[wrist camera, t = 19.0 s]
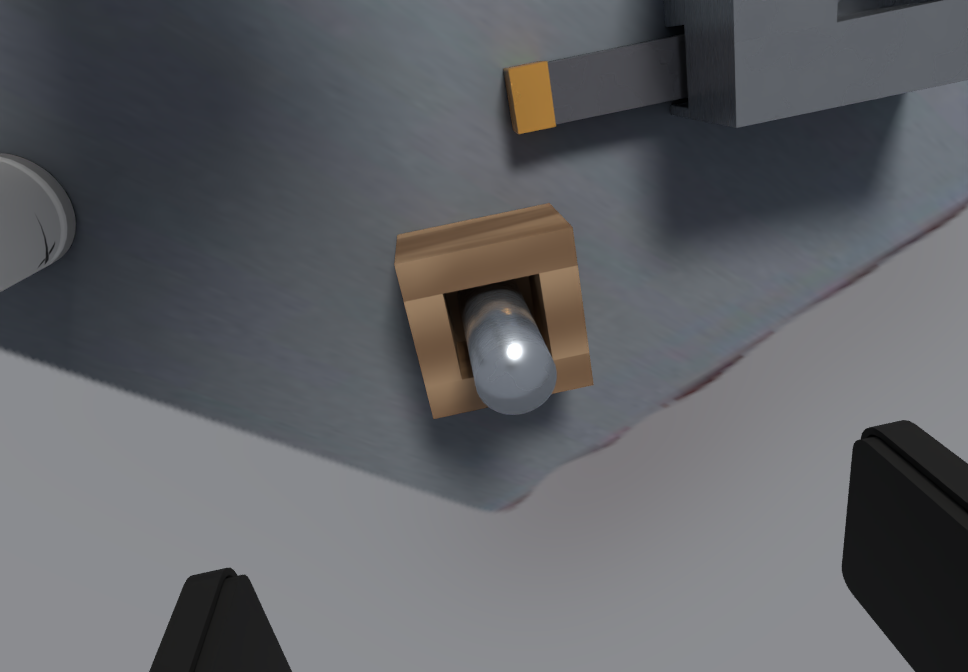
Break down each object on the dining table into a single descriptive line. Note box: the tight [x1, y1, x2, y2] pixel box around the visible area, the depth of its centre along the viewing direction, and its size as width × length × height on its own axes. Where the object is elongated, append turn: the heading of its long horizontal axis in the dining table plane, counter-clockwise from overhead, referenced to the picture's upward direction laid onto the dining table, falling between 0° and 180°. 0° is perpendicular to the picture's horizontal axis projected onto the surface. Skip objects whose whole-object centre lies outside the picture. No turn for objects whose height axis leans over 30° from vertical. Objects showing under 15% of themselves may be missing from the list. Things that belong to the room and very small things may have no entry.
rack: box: [394, 203, 593, 419], centre depth 36 cm, size 9×9×6 cm
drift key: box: [503, 34, 688, 134], centre depth 34 cm, size 3×16×2 cm, turn 101°
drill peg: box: [458, 279, 557, 415], centre depth 33 cm, size 4×4×11 cm
